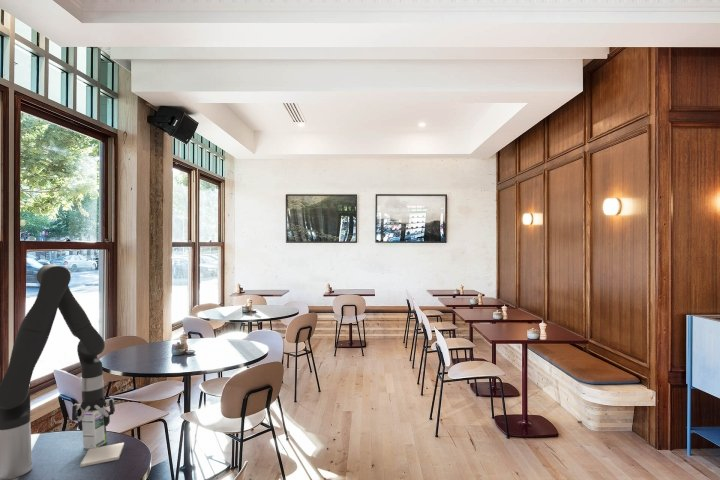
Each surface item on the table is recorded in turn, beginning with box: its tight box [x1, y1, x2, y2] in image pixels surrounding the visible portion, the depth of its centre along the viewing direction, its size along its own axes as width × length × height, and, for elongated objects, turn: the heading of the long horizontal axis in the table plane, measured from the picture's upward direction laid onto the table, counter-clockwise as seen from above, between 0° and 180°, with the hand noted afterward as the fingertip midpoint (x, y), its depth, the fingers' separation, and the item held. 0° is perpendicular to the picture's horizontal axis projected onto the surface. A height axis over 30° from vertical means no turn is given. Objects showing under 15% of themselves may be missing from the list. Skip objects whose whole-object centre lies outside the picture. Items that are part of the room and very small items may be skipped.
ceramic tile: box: [80, 442, 125, 468], centre depth 155 cm, size 12×12×1 cm
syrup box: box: [81, 406, 108, 450], centre depth 164 cm, size 6×6×14 cm
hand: (94, 427), depth 164 cm, fingers open, 8 cm apart
